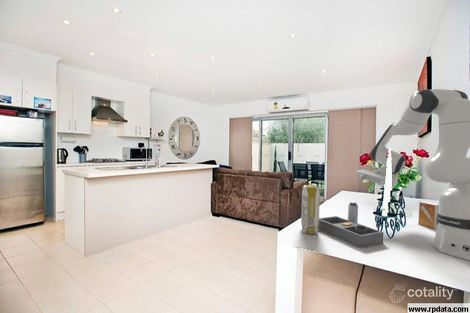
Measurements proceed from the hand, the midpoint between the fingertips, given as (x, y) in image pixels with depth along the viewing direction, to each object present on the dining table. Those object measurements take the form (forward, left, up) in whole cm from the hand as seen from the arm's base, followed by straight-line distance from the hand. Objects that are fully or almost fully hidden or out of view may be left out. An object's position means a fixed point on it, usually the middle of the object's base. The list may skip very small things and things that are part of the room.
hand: (369, 180), depth 124 cm
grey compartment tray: (-7, +24, -25) cm, 35 cm away
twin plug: (-14, +24, -23) cm, 36 cm away
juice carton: (+3, +38, -25) cm, 46 cm away
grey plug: (+1, +11, -25) cm, 27 cm away
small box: (-13, -33, -25) cm, 43 cm away
